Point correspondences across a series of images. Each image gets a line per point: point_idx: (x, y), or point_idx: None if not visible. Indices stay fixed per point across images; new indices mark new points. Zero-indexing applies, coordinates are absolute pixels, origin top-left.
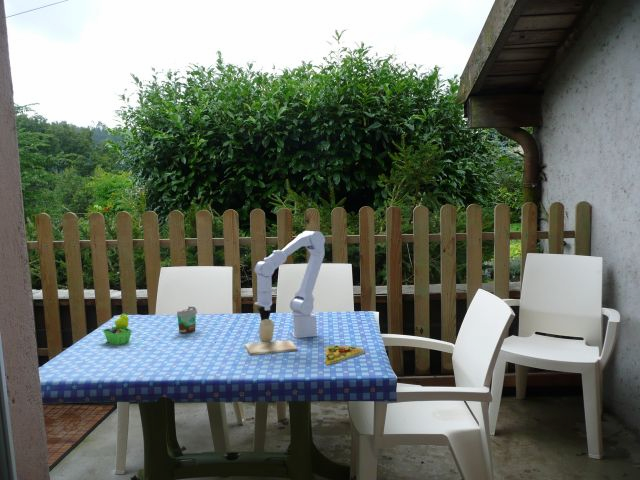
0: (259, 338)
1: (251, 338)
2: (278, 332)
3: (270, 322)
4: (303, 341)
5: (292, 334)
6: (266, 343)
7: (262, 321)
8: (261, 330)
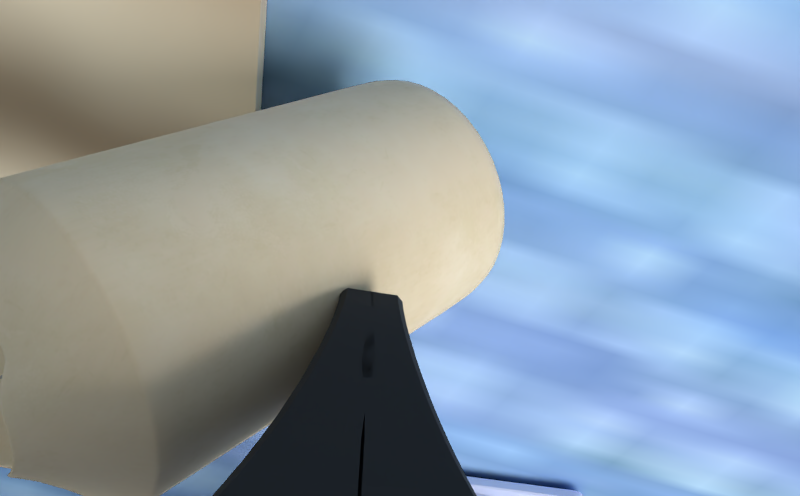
0: (403, 84)
1: (776, 23)
2: (776, 423)
3: (4, 439)
4: (213, 474)
5: (514, 488)
6: (166, 107)
7: (50, 330)
8: (95, 154)
